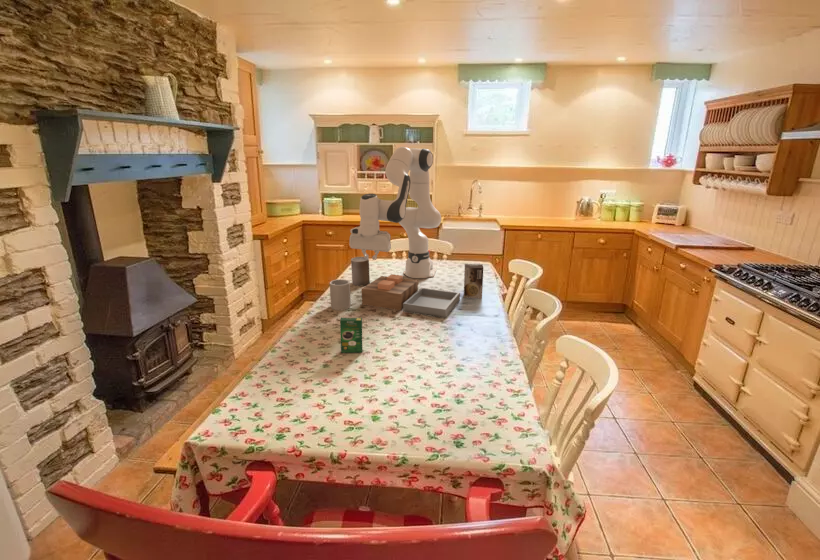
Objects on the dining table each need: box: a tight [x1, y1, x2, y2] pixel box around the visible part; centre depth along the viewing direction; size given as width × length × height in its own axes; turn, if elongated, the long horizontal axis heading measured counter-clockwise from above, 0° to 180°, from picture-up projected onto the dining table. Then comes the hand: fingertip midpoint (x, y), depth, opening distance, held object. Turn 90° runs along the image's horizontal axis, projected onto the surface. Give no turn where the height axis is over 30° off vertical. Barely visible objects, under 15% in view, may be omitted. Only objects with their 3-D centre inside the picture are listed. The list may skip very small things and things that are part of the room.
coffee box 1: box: [339, 317, 363, 354], centre depth 154 cm, size 8×3×13 cm, turn 93°
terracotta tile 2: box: [387, 274, 404, 284], centre depth 209 cm, size 6×6×2 cm
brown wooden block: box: [361, 275, 419, 311], centre depth 206 cm, size 22×20×8 cm
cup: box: [329, 278, 352, 311], centre depth 197 cm, size 9×9×12 cm
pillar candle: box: [350, 256, 371, 287], centre depth 230 cm, size 10×10×15 cm
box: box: [402, 287, 461, 319], centre depth 199 cm, size 24×20×4 cm
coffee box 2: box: [463, 263, 484, 300], centre depth 210 cm, size 9×6×16 cm
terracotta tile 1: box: [378, 280, 395, 290], centre depth 200 cm, size 6×6×2 cm
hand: (370, 259), depth 200 cm, fingers open, 3 cm apart
